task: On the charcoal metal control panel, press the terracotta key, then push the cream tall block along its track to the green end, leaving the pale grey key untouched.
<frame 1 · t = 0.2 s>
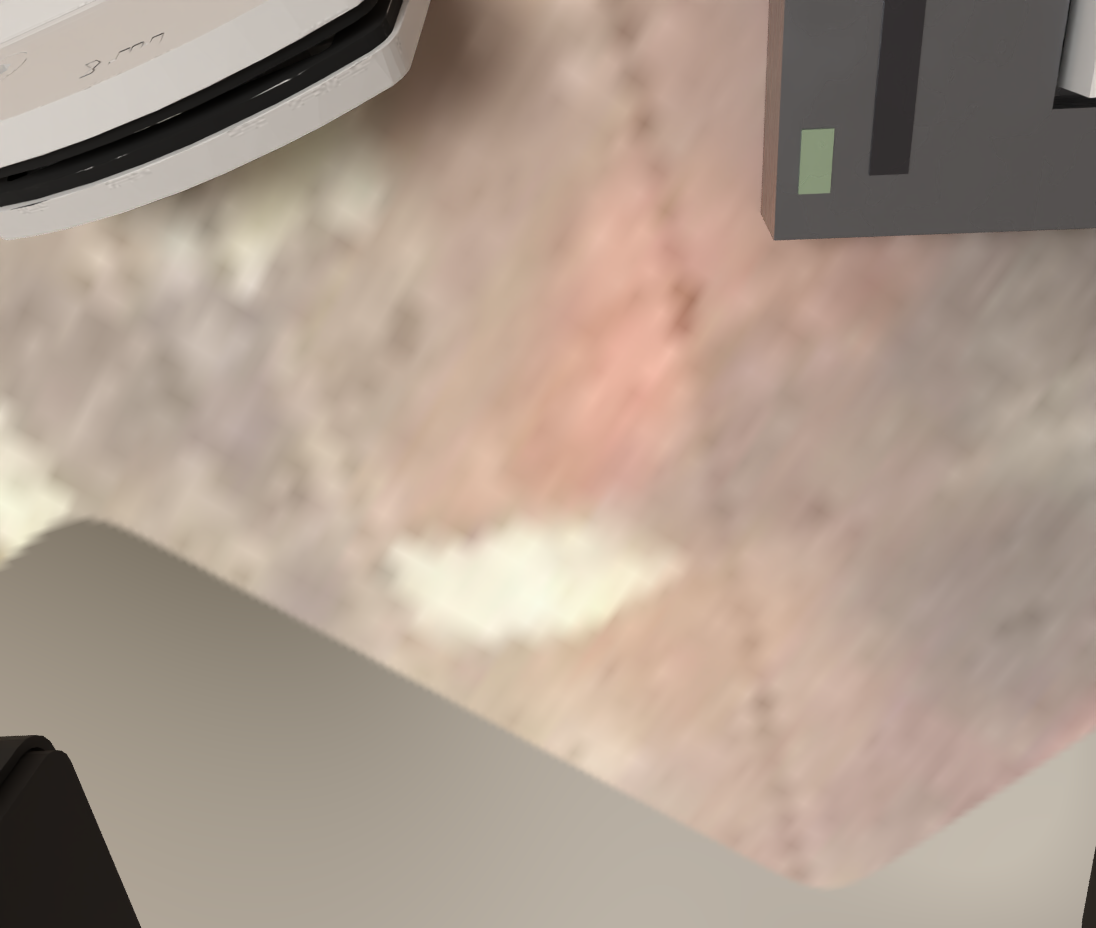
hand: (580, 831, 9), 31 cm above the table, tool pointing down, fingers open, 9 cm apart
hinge: (213, 32, 36), on the table
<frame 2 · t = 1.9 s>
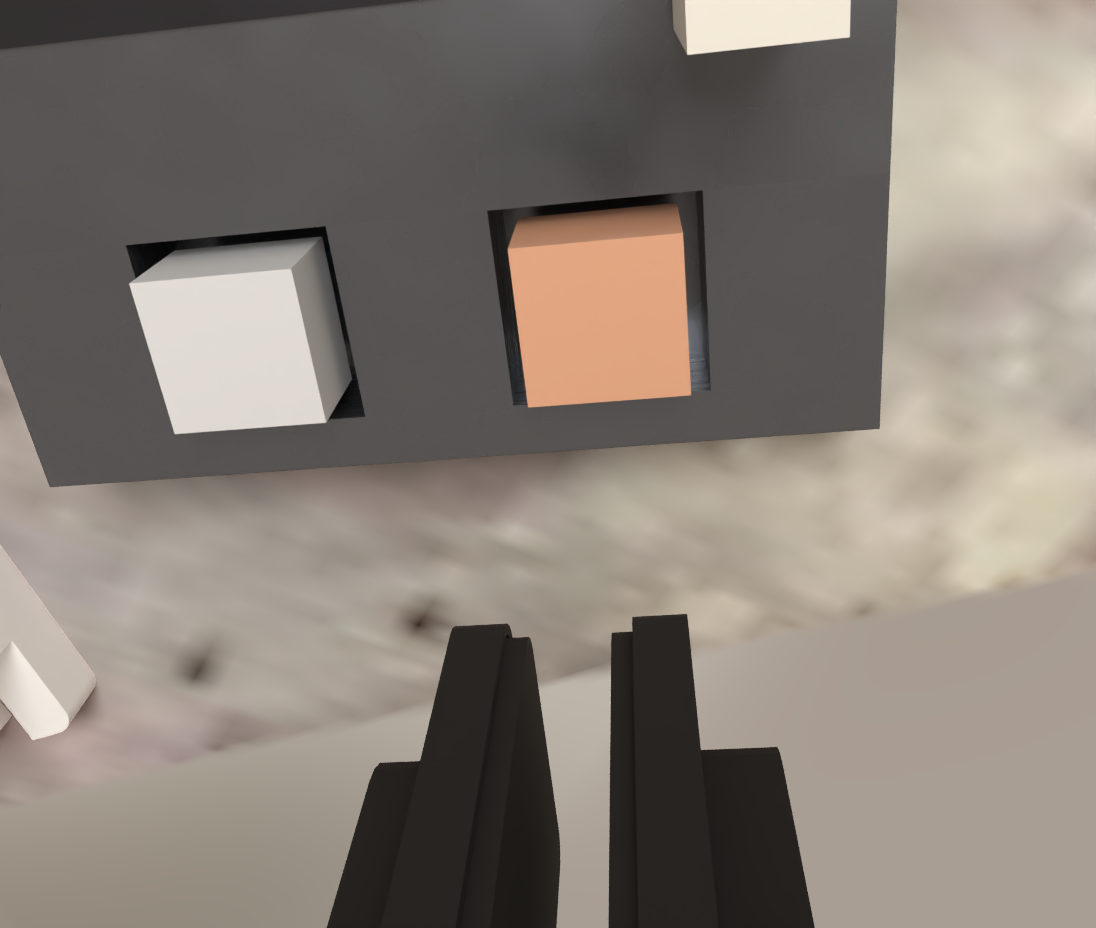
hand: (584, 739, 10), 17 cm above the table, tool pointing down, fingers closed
terracotta key: (602, 304, 22), point 4 cm above the table, slide at 0.0 cm
control panel: (423, 129, 24), on the table
grey key: (248, 334, 23), point 4 cm above the table, slide at 0.0 cm
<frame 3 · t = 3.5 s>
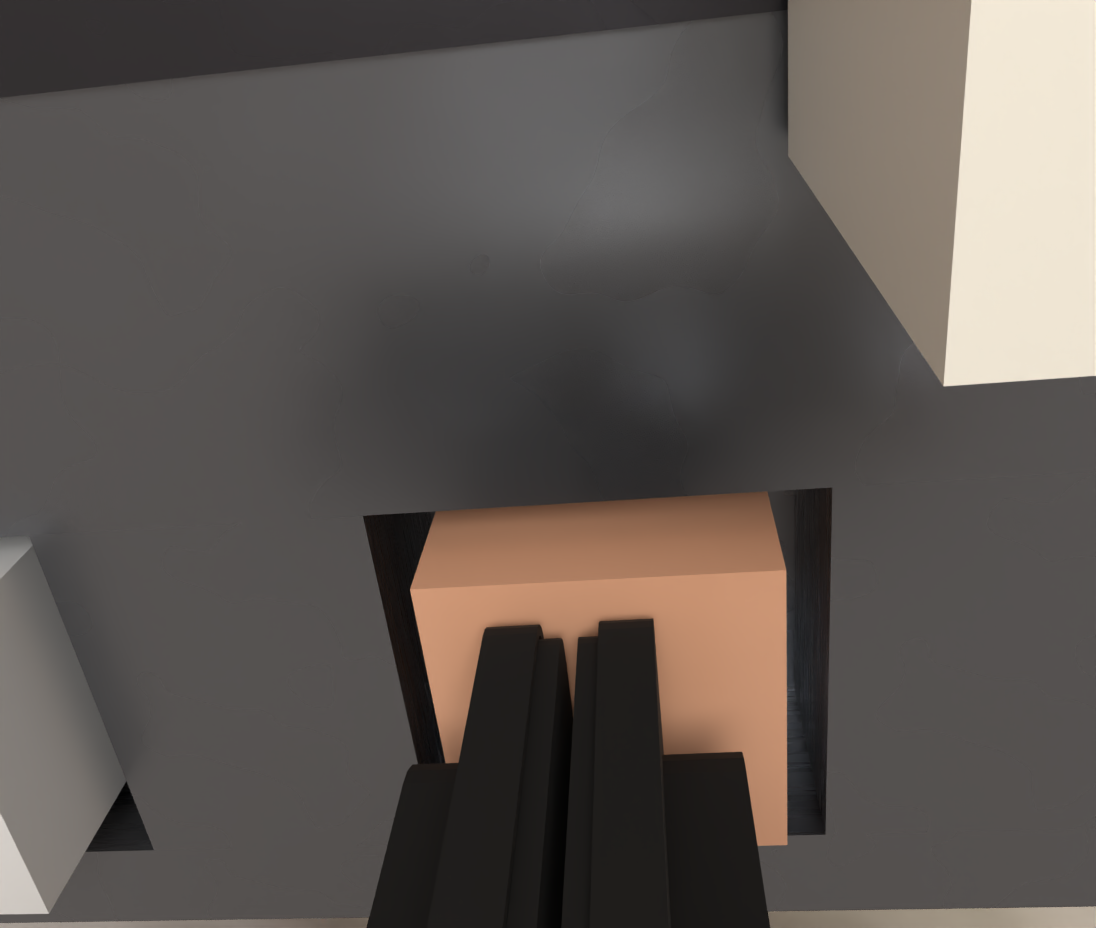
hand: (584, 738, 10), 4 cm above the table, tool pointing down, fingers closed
terracotta key: (611, 647, 11), point 3 cm above the table, slide at 0.7 cm, touching gripper
control panel: (271, 293, 13), on the table
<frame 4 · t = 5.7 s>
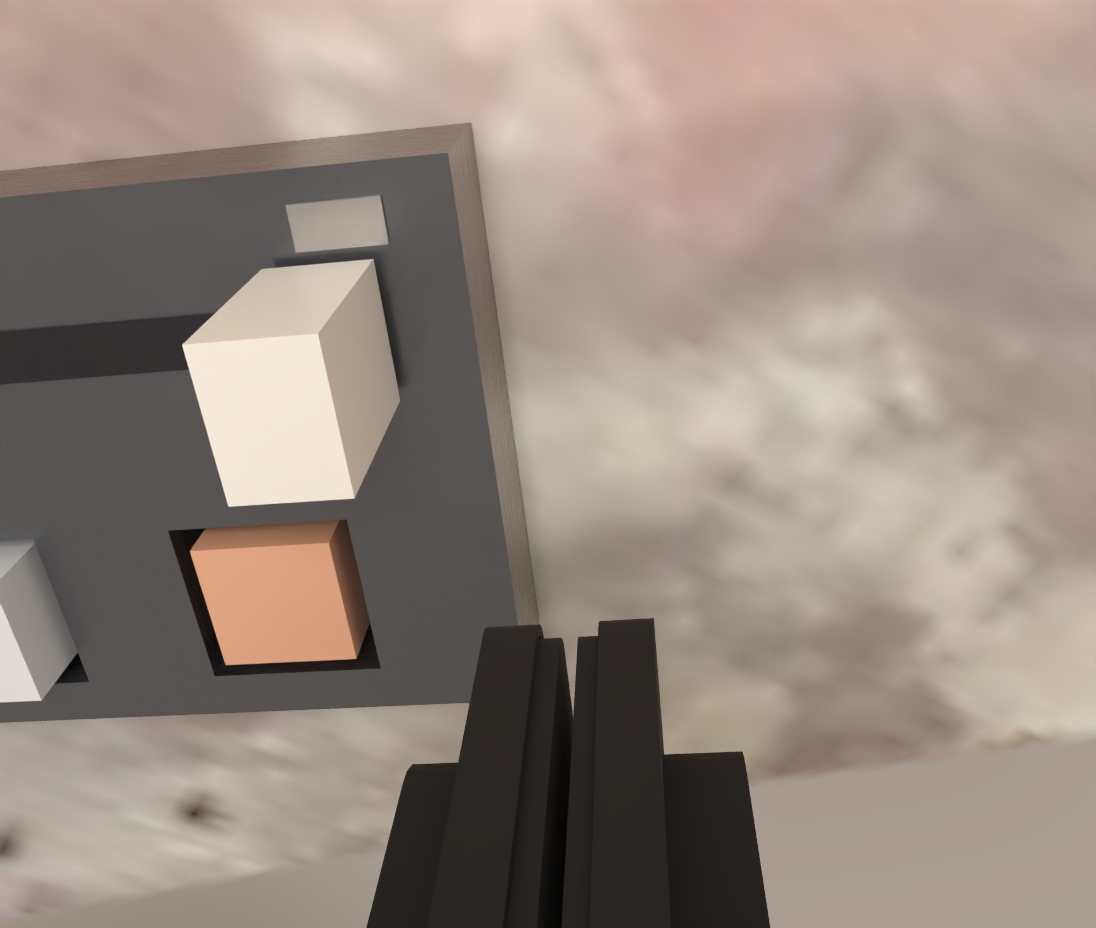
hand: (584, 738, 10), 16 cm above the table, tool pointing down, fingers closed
terracotta key: (289, 578, 27), point 2 cm above the table, slide at 1.1 cm
control panel: (143, 427, 28), on the table
cream tall block: (304, 376, 20), point 6 cm above the table, slide at 0.0 cm
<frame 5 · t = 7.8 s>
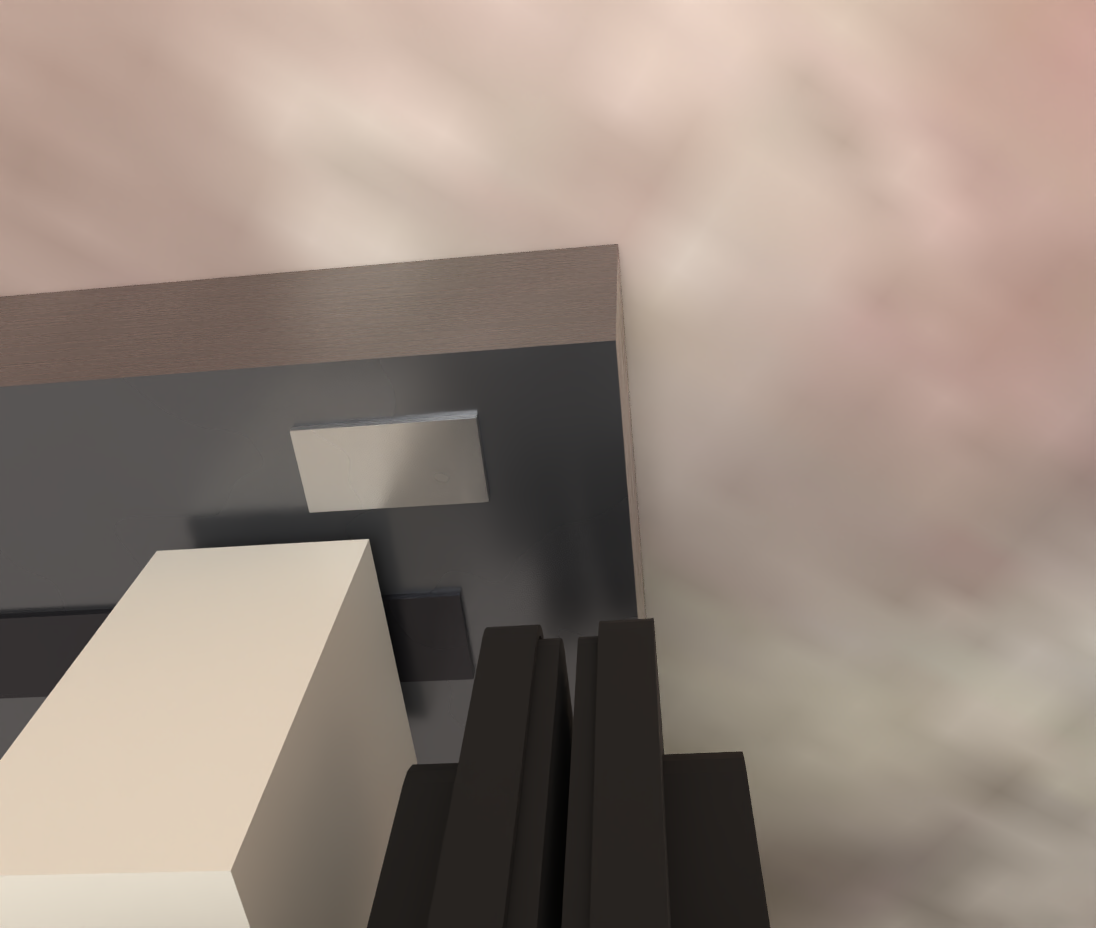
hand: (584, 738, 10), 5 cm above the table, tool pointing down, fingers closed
control panel: (63, 695, 18), on the table
cream tall block: (229, 805, 10), point 6 cm above the table, slide at 1.0 cm, touching gripper
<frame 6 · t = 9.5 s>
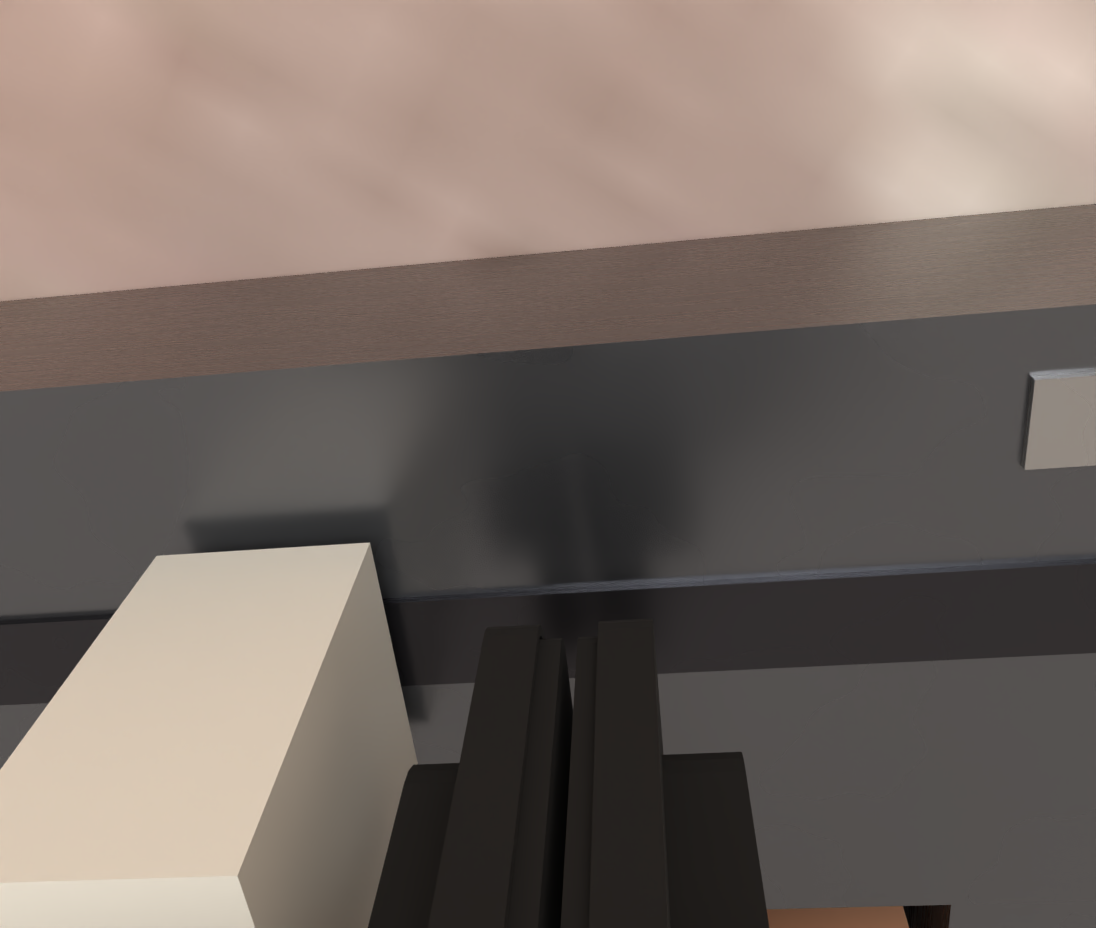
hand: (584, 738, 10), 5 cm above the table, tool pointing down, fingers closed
control panel: (498, 681, 17), on the table
cream tall block: (231, 810, 10), point 6 cm above the table, slide at 8.6 cm, touching gripper
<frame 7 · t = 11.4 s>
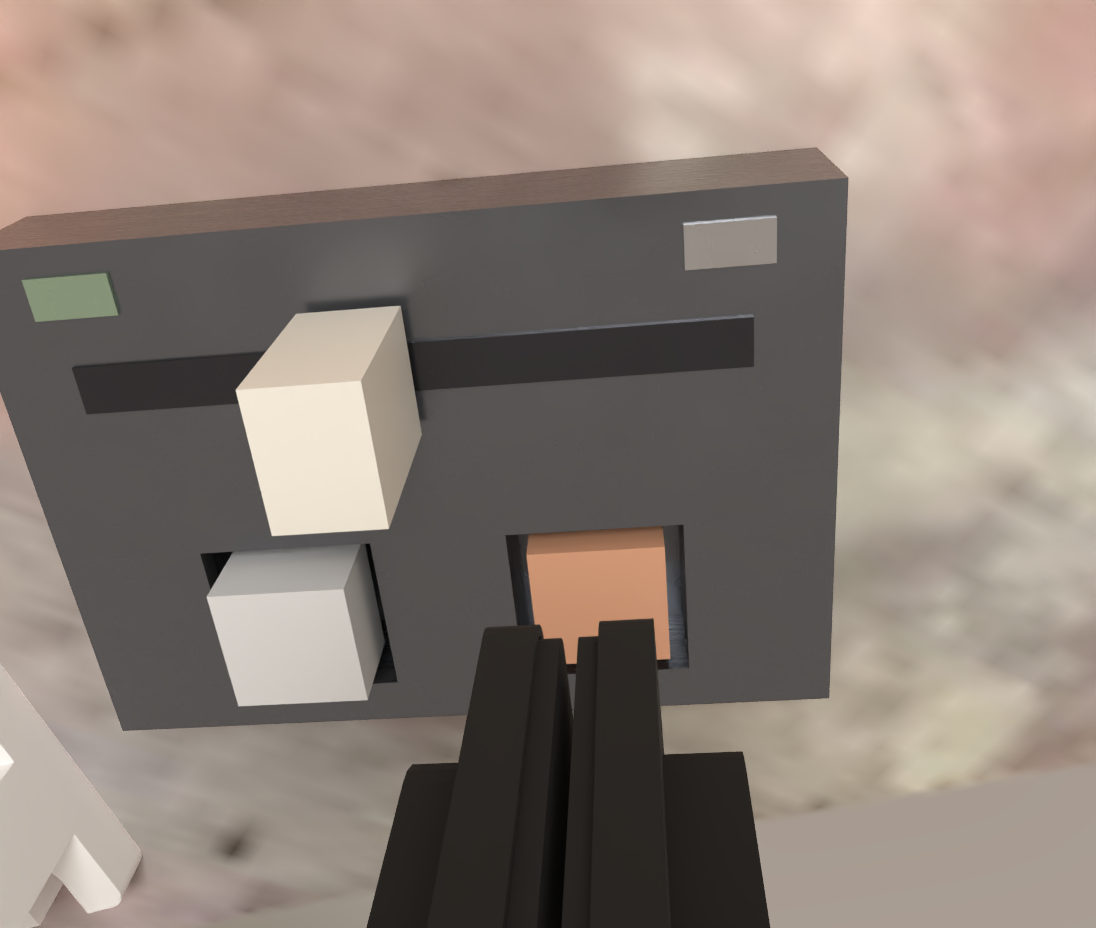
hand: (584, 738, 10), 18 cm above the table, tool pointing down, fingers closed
terracotta key: (599, 581, 28), point 2 cm above the table, slide at 1.1 cm
control panel: (447, 436, 29), on the table
grey key: (301, 621, 28), point 4 cm above the table, slide at 0.0 cm
cable organizer: (13, 775, 36), on the table
cream tall block: (339, 414, 22), point 6 cm above the table, slide at 8.1 cm
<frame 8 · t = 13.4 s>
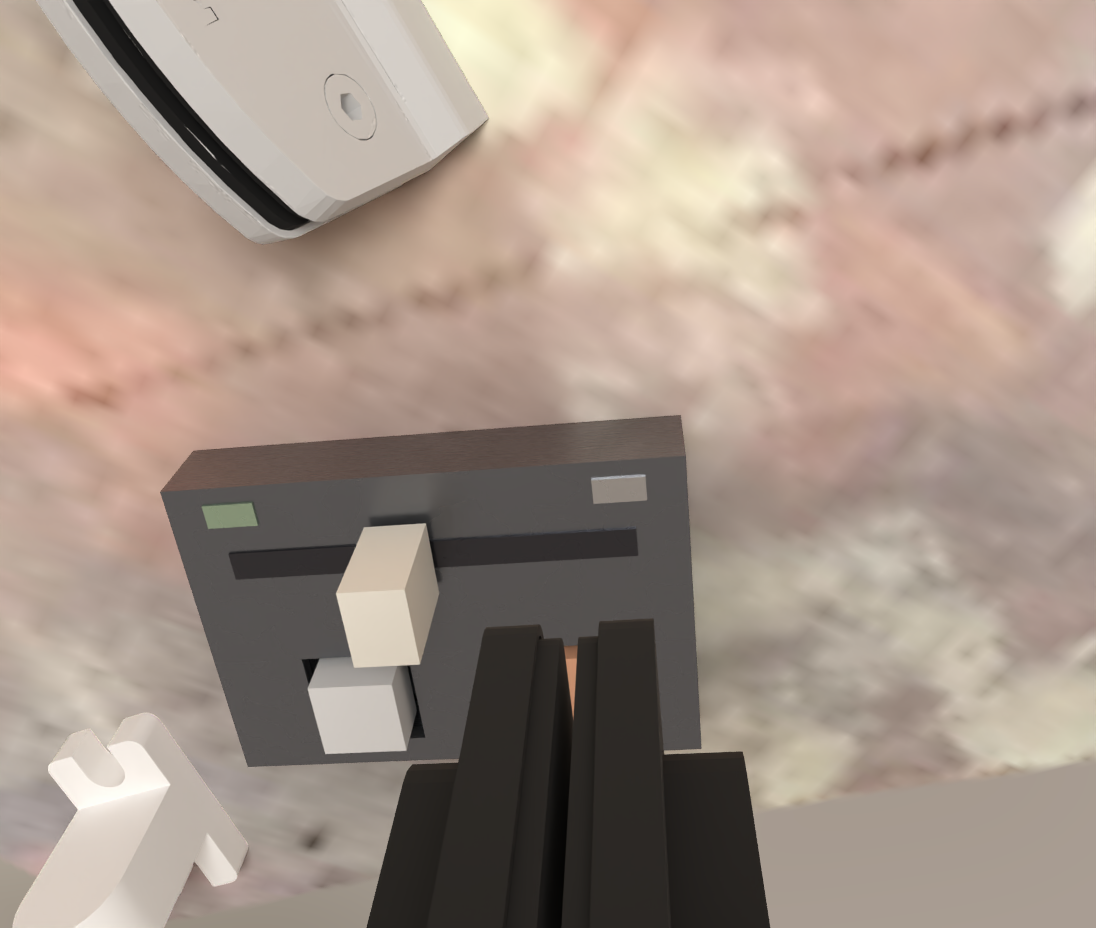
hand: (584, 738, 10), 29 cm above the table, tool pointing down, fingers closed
terracotta key: (553, 674, 44), point 2 cm above the table, slide at 1.1 cm
control panel: (456, 578, 45), on the table
grey key: (364, 699, 44), point 4 cm above the table, slide at 0.0 cm
cable organizer: (162, 791, 52), on the table
cream tall block: (391, 593, 38), point 6 cm above the table, slide at 8.1 cm
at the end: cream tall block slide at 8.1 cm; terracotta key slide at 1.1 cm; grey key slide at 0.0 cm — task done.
